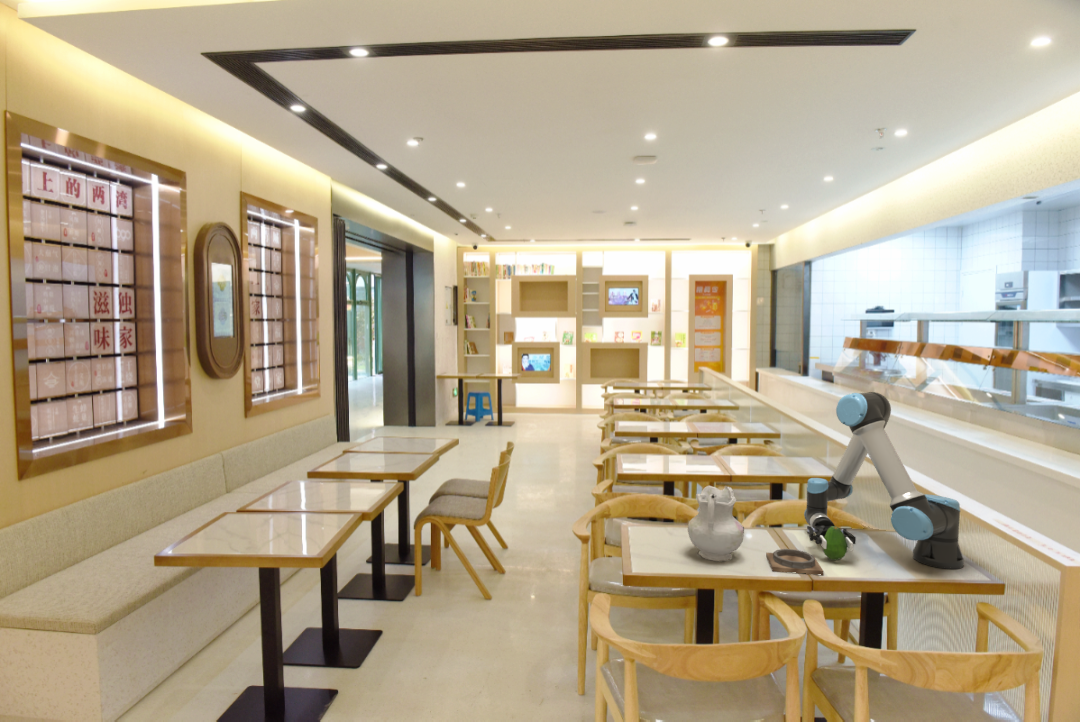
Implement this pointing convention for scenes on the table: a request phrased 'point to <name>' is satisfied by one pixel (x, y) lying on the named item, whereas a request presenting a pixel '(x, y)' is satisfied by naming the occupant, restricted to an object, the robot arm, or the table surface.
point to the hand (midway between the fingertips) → (838, 546)
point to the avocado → (835, 543)
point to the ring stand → (793, 562)
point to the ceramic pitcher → (716, 525)
